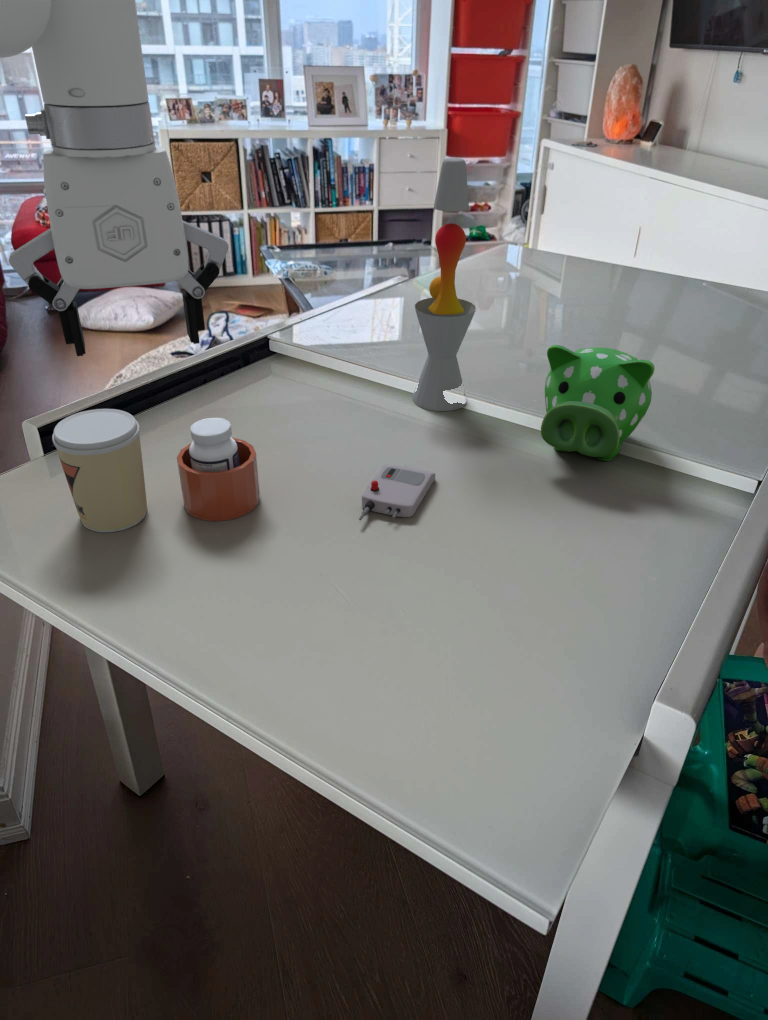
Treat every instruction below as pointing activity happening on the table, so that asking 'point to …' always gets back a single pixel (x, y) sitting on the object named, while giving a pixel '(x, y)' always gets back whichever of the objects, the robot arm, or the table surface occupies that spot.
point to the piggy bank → (594, 399)
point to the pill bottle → (213, 446)
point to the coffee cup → (103, 467)
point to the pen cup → (220, 486)
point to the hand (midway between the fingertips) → (138, 344)
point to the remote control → (396, 491)
